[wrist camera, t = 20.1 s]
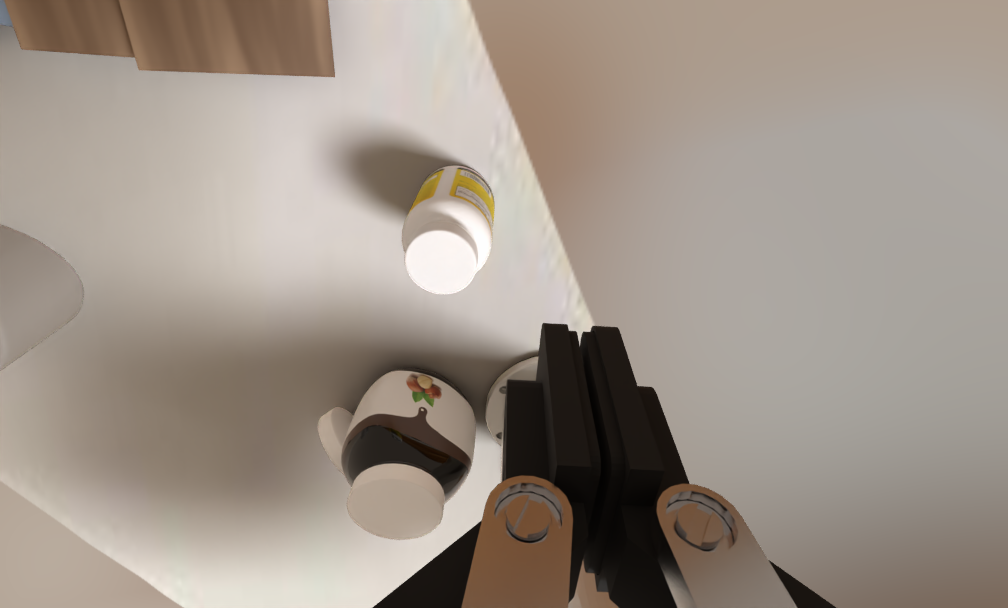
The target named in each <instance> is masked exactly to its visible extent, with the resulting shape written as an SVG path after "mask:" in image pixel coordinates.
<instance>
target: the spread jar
mask: <svg viewBox="0 0 1008 608" xmlns="http://www.w3.org/2000/svg"><path fill="white" fill-rule="evenodd" d="M318 432H319V436H320V440H321V442H322V445H323V447H324V449H325V451H326V453H327V455H328V456H329V458H330V459H331V461H332V462H333V464H334V465H335V466H336V467H337V468H338V470H339V471H340V472H341V473H342V474H343V475H345V478H346V479H347V481H348V483H349V485H350V486H351V487H352V488H351V491H350V494H349V497H348V501H347V509H348V512H349V515H350V516H351V518H352V519H353V521H354V522H355V523H356V524H357V525H358V526H360V527H361V528H363V529H364V530H366V531H367V532H370V533H372V534H374V535H377V536H380V537H383V538H388V539H397V540H405V539H413V538H418V537H421V536H424V535H426V534H428V533H430V532H432V531H433V530H434V529H435V528H436V527H437V526H438V525H439V524H440V522H441V519H442V516H443V509H444V504H445V503H446V502H448V501H449V500H450V499H451V498H452V497H453V496H454V495H455V494H456V493H457V491H458V490H459V489H460V488H461V486H462V485H463V483H464V482H465V480H466V478H467V476H468V474H469V472H470V469H471V466H472V462H473V456H474V447H475V433H476V422H475V417H474V412H473V410H472V408H471V406H470V404H469V402H468V401H467V399H466V398H465V397H464V396H463V394H462V393H461V392H460V391H459V390H458V389H457V388H456V387H455V386H454V385H453V384H452V383H451V382H450V381H448V380H447V379H446V378H444V377H442V376H440V375H438V374H436V373H434V372H430V371H427V370H422V369H414V368H405V369H397V370H393V371H391V372H389V373H387V374H385V375H383V376H382V377H380V378H379V379H378V380H377V381H376V382H375V383H374V384H373V385H372V386H371V387H370V388H369V389H368V391H367V392H366V393H365V395H364V396H363V398H362V400H361V402H360V403H359V405H358V407H357V409H356V412H355V414H354V415H353V414H351V413H350V412H349V411H347V410H346V409H344V408H341V407H335V408H333V409H332V410H330V411H329V412H327V413H326V414H324V415H323V416H322V417H321V418H320V419H319V421H318Z"/></svg>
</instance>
